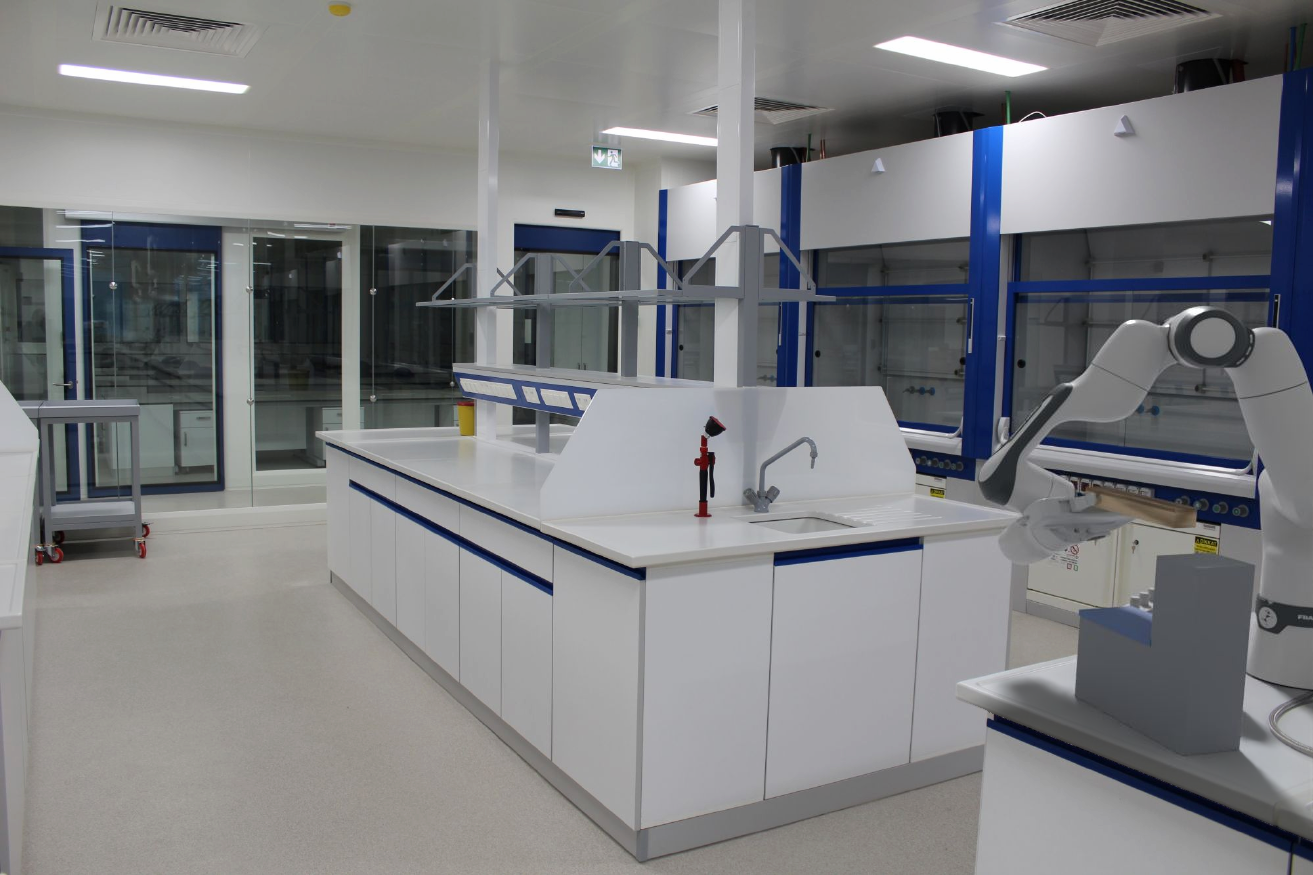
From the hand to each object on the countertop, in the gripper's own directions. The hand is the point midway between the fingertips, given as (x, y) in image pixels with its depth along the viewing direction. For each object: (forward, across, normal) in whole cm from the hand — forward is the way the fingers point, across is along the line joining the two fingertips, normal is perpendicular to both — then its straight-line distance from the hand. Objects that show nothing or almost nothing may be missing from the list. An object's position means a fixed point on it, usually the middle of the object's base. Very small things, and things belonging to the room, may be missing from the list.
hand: (1110, 496), depth 165 cm
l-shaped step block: (-6, 0, +36) cm, 36 cm away
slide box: (+4, 0, +5) cm, 7 cm away
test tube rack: (-30, +23, +22) cm, 44 cm away
